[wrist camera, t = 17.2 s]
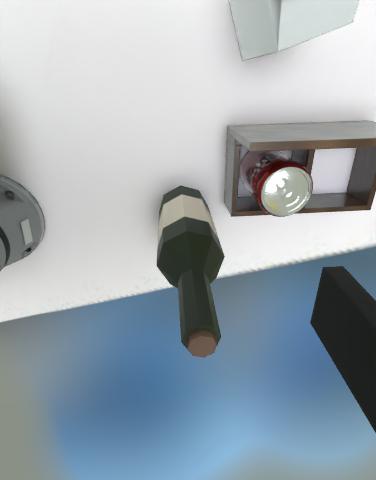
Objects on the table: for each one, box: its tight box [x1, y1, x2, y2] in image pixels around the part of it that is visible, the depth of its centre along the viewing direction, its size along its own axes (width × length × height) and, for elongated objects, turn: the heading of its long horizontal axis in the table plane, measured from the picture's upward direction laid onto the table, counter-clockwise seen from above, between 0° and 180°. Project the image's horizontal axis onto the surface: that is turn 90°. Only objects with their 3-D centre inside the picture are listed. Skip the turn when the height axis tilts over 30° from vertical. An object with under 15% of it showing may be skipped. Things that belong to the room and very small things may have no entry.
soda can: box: [239, 151, 313, 217], centre depth 43 cm, size 7×7×12 cm
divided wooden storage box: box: [225, 121, 376, 217], centre depth 43 cm, size 22×12×14 cm, turn 91°
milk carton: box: [229, 0, 359, 60], centre depth 31 cm, size 7×7×19 cm
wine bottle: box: [157, 186, 224, 357], centre depth 38 cm, size 8×8×30 cm
